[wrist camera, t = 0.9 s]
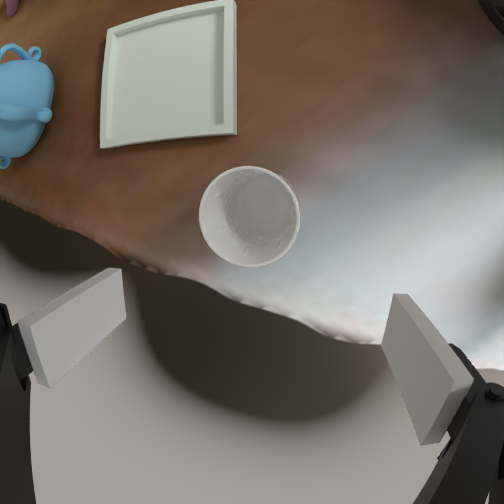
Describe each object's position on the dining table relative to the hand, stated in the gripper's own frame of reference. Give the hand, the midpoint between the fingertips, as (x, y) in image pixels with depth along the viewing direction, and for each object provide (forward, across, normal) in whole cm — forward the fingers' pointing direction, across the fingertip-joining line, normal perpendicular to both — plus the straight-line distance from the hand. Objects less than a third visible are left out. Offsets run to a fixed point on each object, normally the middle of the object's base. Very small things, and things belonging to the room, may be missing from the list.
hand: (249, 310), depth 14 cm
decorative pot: (+22, -39, +18) cm, 48 cm away
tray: (+20, -14, +18) cm, 31 cm away
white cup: (+20, -1, +3) cm, 21 cm away
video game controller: (+22, -55, +48) cm, 76 cm away
